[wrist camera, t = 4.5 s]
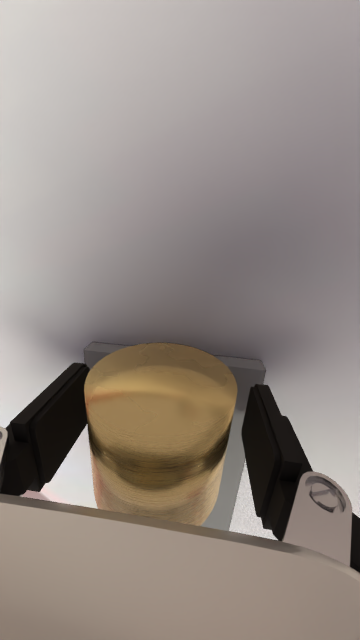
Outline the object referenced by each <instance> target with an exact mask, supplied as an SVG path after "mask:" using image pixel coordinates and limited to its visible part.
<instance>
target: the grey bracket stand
mask: <svg viewBox="0 0 360 640" xmlns="http://www.w3.org/2000/svg"><path fill="white" fill-rule="evenodd" d="M126 347H129V346H125V345H116V344H106V343H97V342H92V343H91V344H90V345H88V346H87V347H86V348H85V349H84V360H85V364H86V365H87V367H89V368H90V370H91V369H92V367H93V366H94V365H95V364H96V363H97V362H99V361H100V360H101V359H102V358H104V357H106V356H107V355H109V354H111V353H113V352H115V351H117V350H120V349H123V348H126ZM213 356H214V357H216V358H217V359H219V360H220V361H221V362H223V363H224V364H225V365H226V366H227V367H228V368H229V370H230V371H231V372H232V374H233V376H234V377H235V380H236V383H237V397H236V403H235V408H234V413H233V419H232V424H231V429H230V435H229V440H228V445H227V451H226V456H225V461H224V466H223V472H222V477H221V482H220V488H219V493H218V497H217V500H216V503H215V505H214V507H213V510H212V511H211V513H210V515H209V516H208V518H207V519H206V520H205V522H204V523H203V524H202V525H201V526H202V527H208V528H213V529H219V530H225V531H229V527H230V523H231V519H232V514H233V510H234V506H235V502H236V497H237V493H238V489H239V484H240V480H241V476H242V471H243V467H244V463H245V453H244V447H243V442H242V436H241V430H242V425H243V420H244V415H245V411H246V406H247V401H248V396H249V392H250V388H251V386H253V387H254V386H255V384H262V385H263V381H264V377H265V372H266V370H265V367H264V365H263V363H262V361H261V360H253V359H244V358H234V357H225V356H216V355H213Z"/></svg>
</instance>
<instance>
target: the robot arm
mask: <svg viewBox="0 0 360 640" xmlns="http://www.w3.org/2000/svg"><path fill="white" fill-rule="evenodd" d="M89 372H90V368H89V367H87V365H86V364H83V363H73V364H72V365H70V366H69V367H68V368H67V369H66V370H65V371H64V372H63V373H62V374H61V375H60V376H59V377H58V378H57V379H56V380H55V381H53V382H52V383H51V384H50V385H49V386H48V387H47V388H46V389H45V390H44V391H43V392H42V393H41V394H40V395H39V396H37V397H36V398H35V399H34V400H33V401H32V402H31V403H30V404H29V405H28V406H27V407H26V408H25V409H24V410H23V411H22V412H20V413H19V414H18V415H17V416H16V417H15V418H14V419H13V420H12V421H11V422H10V424H9V425H8V426H7V427H6V428H3V427H0V640H360V518H359V517H358V516H356V515H355V514H354V513H352V506H351V502H350V500H349V498H348V495H347V494H346V493H345V491H344V490H343V489H342V488H341V487H340V486H339V485H338V484H337V483H336V482H335V481H334V480H332V479H331V478H329V477H328V476H326V475H323V474H321V473H318V472H314V471H313V470H312V468H311V466H310V464H309V462H308V460H307V457H306V455H305V453H304V451H303V449H302V447H301V445H300V442H299V440H298V438H297V436H296V434H295V432H294V430H293V427H292V425H291V423H290V421H289V419H288V418H287V417H286V416H282V415H281V413H280V411H279V408H278V406H277V404H276V402H275V399H274V397H273V395H272V392H271V390H270V388H269V386H268V385H262V384H255V386H254V387H253V386H251V388H250V392H249V396H248V401H247V406H246V411H245V415H244V420H243V425H242V430H241V436H242V442H243V447H244V453H245V458H246V463H247V469H248V474H249V479H250V485H251V490H252V495H253V501H254V506H255V511H256V515H257V517H261V519H262V524H263V529H270V530H272V532H273V535H274V536H275V537H276V538H277V539H278V540H272V539H267V538H262V537H257V536H252V535H246V534H241V533H236V532H231V531H225V530H219V529H213V528H208V527H202V526H196V525H190V524H184V523H179V522H173V521H167V520H161V519H155V518H149V517H143V516H137V515H131V514H125V513H119V512H113V511H107V510H101V509H95V508H89V507H83V506H77V505H70V504H64V503H58V502H52V501H45V500H39V499H33V498H27V497H22V495H23V494H24V493H25V492H26V490H31V491H37V492H40V491H41V489H42V488H43V486H44V485H45V483H49V482H50V481H51V479H52V478H53V476H54V475H55V473H56V471H57V470H58V468H59V467H60V465H61V464H62V462H63V461H64V459H65V457H66V456H67V454H68V453H69V451H70V450H71V448H72V446H73V445H74V443H75V442H76V440H77V439H78V437H79V435H80V434H81V432H82V431H83V429H84V428H85V426H86V424H87V414H86V403H85V393H84V385H85V380H86V377H87V375H88V373H89Z"/></svg>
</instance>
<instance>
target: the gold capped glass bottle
mask: <svg viewBox="0 0 360 640" xmlns="http://www.w3.org/2000/svg"><path fill="white" fill-rule="evenodd" d="M84 393H85V403H86V414H87V424H88V434H89V445H90V455H91V465H92V475H93V486H94V494H95V500H96V503H97V507H98V509H101V510H107V511H113V512H119V513H125V514H131V515H137V516H143V517H149V518H155V519H161V520H167V521H173V522H179V523H184V524H190V525H196V526H201V525H202V524H203V523H204V522H205V520H206V519H207V518H208V516H209V515H210V513H211V511H212V510H213V507H214V505H215V503H216V500H217V497H218V493H219V488H220V482H221V477H222V472H223V466H224V461H225V456H226V451H227V445H228V440H229V435H230V429H231V424H232V419H233V413H234V408H235V403H236V397H237V383H236V380H235V377H234V376H233V374H232V372H231V371H230V370H229V368H228V367H227V366H226V365H225V364H224V363H223V362H221V361H220V360H219V359H217V358H216V357H214V356H213V355H211V354H209V353H207V352H204V351H202V350H199V349H196V348H193V347H190V346H185V345H180V344H173V343H146V344H139V345H134V346H129V347H126V348H123V349H120V350H117V351H115V352H113V353H111V354H109V355H107V356H106V357H104V358H102V359H101V360H100V361H99V362H97V363H96V364H95V365H94V366H93V367H92V369H91V370H90V372H89V373H88V375H87V377H86V380H85V385H84Z"/></svg>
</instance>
